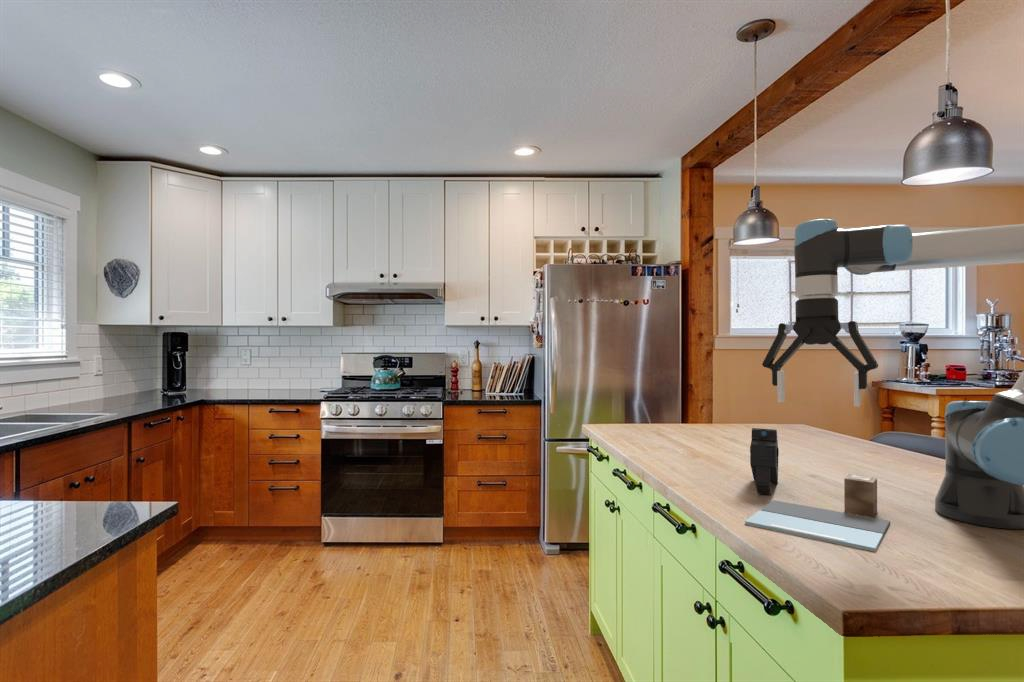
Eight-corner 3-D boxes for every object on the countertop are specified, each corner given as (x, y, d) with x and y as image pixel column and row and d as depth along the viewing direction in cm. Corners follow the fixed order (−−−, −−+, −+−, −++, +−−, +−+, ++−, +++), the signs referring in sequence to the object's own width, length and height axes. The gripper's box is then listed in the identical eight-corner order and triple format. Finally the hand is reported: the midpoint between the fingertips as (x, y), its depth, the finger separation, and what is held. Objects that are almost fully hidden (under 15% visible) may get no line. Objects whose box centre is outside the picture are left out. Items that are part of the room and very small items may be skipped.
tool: (747, 484, 123) (749, 422, 129) (752, 506, 137) (754, 450, 144) (777, 487, 120) (778, 424, 127) (779, 510, 135) (780, 452, 141)
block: (877, 511, 112) (877, 477, 112) (873, 517, 108) (873, 482, 108) (849, 507, 115) (848, 473, 116) (844, 512, 112) (844, 478, 112)
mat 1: (890, 523, 105) (890, 520, 105) (883, 536, 98) (883, 533, 98) (773, 502, 118) (773, 500, 118) (760, 512, 112) (760, 509, 112)
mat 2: (883, 537, 97) (883, 533, 97) (875, 551, 91) (875, 547, 91) (759, 513, 111) (759, 509, 111) (745, 524, 104) (745, 520, 104)
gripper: (894, 295, 104) (895, 406, 104) (757, 303, 120) (758, 398, 120) (888, 292, 98) (890, 410, 98) (745, 301, 115) (747, 401, 115)
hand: (817, 404), depth 109 cm, fingers open, 13 cm apart
